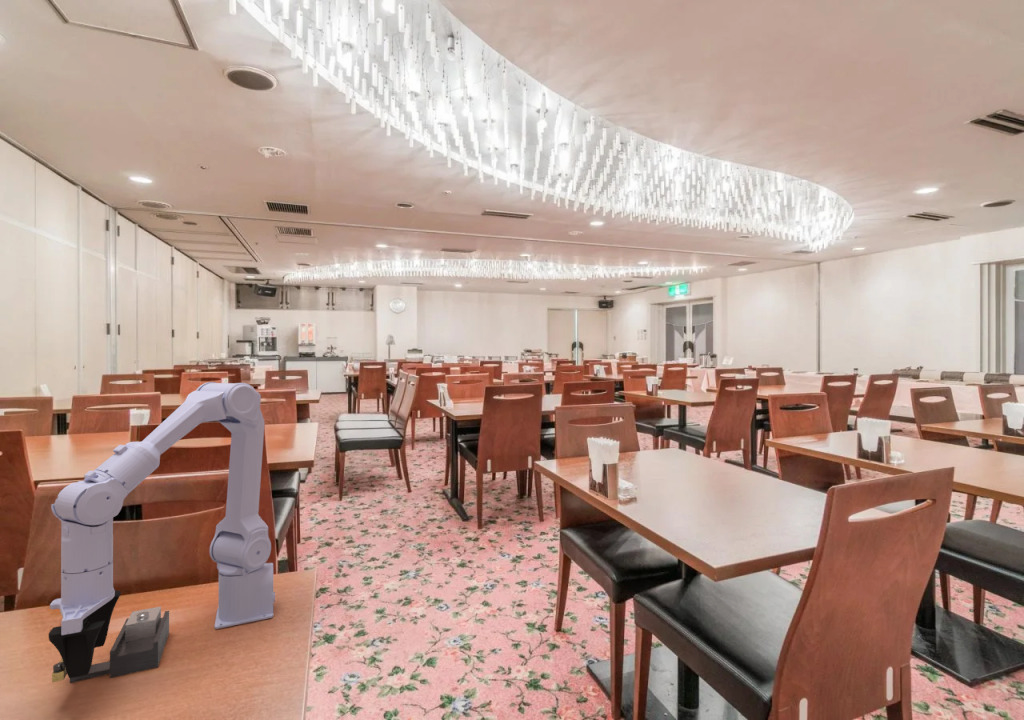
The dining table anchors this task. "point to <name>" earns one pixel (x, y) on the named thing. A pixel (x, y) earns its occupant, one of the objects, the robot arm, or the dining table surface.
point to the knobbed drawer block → (143, 624)
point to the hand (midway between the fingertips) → (87, 660)
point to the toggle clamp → (131, 654)
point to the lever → (59, 672)
